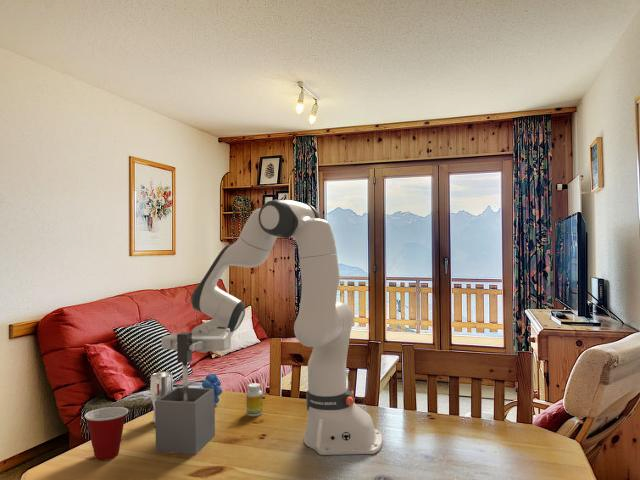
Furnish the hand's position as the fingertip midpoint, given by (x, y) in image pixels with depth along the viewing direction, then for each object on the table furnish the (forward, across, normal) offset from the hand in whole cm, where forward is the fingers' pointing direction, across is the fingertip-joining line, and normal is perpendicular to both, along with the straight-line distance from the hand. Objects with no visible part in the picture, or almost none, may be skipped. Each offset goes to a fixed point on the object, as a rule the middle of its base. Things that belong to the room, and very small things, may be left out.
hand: (183, 347), depth 125 cm
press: (-1, 0, +28) cm, 28 cm away
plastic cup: (+9, -18, +28) cm, 34 cm away
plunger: (-1, 0, +18) cm, 18 cm away
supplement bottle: (-25, +12, +28) cm, 39 cm away
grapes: (-28, -4, +28) cm, 40 cm away
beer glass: (-15, -16, +28) cm, 35 cm away
